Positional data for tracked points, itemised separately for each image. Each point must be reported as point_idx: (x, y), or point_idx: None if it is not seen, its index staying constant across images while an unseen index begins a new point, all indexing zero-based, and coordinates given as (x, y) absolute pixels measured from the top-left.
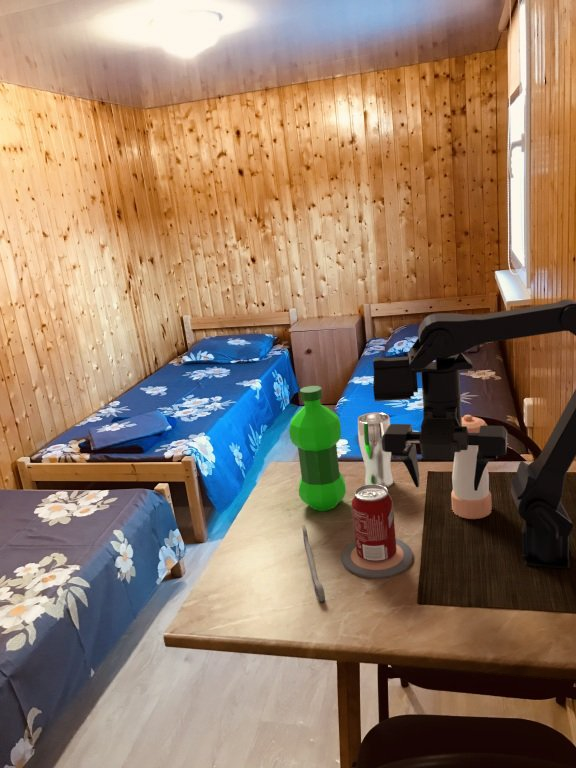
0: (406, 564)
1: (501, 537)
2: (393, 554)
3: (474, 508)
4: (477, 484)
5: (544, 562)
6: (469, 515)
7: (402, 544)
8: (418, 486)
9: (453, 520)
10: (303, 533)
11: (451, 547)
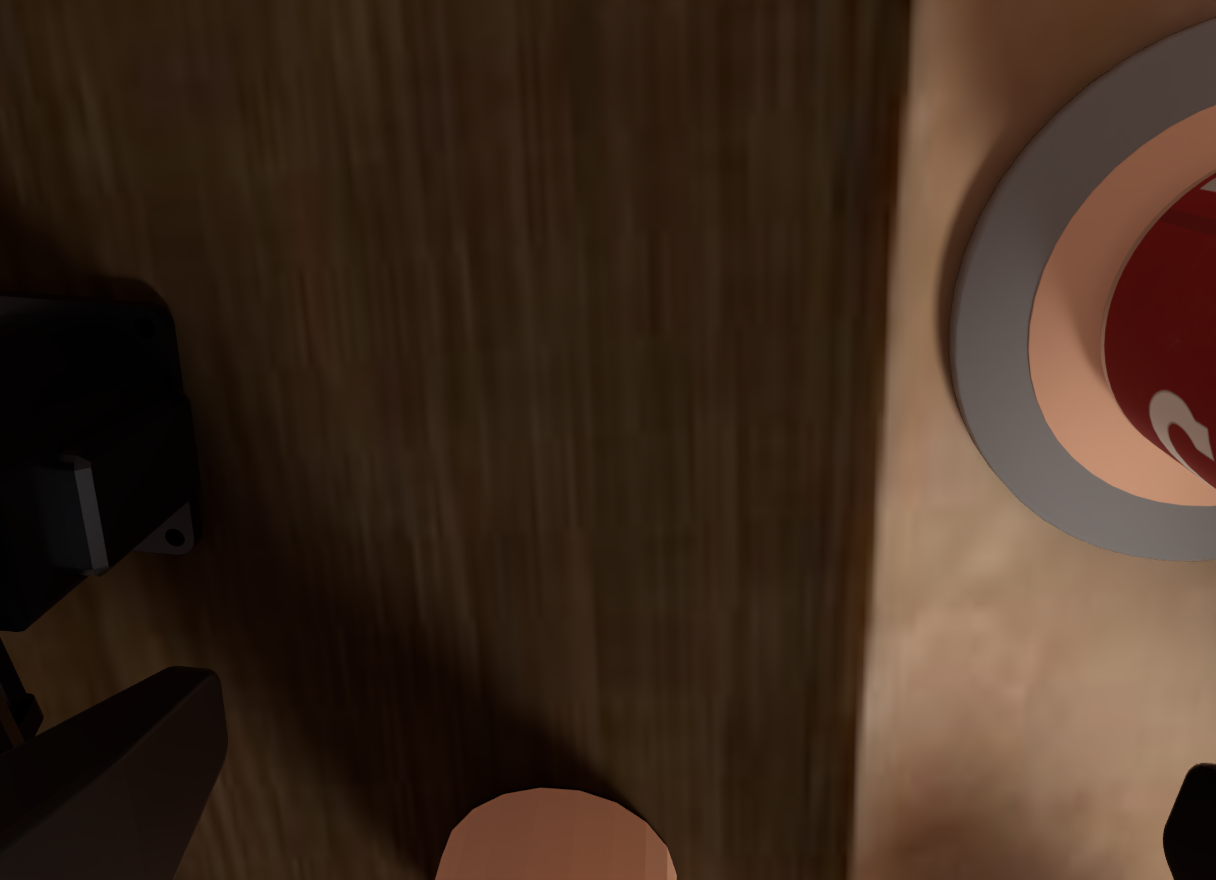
0: (1012, 199)
1: (359, 608)
2: (1144, 248)
3: (522, 848)
4: (71, 731)
5: (42, 319)
6: (563, 807)
7: (1029, 465)
8: (1198, 778)
9: (664, 771)
10: None
11: (669, 481)
